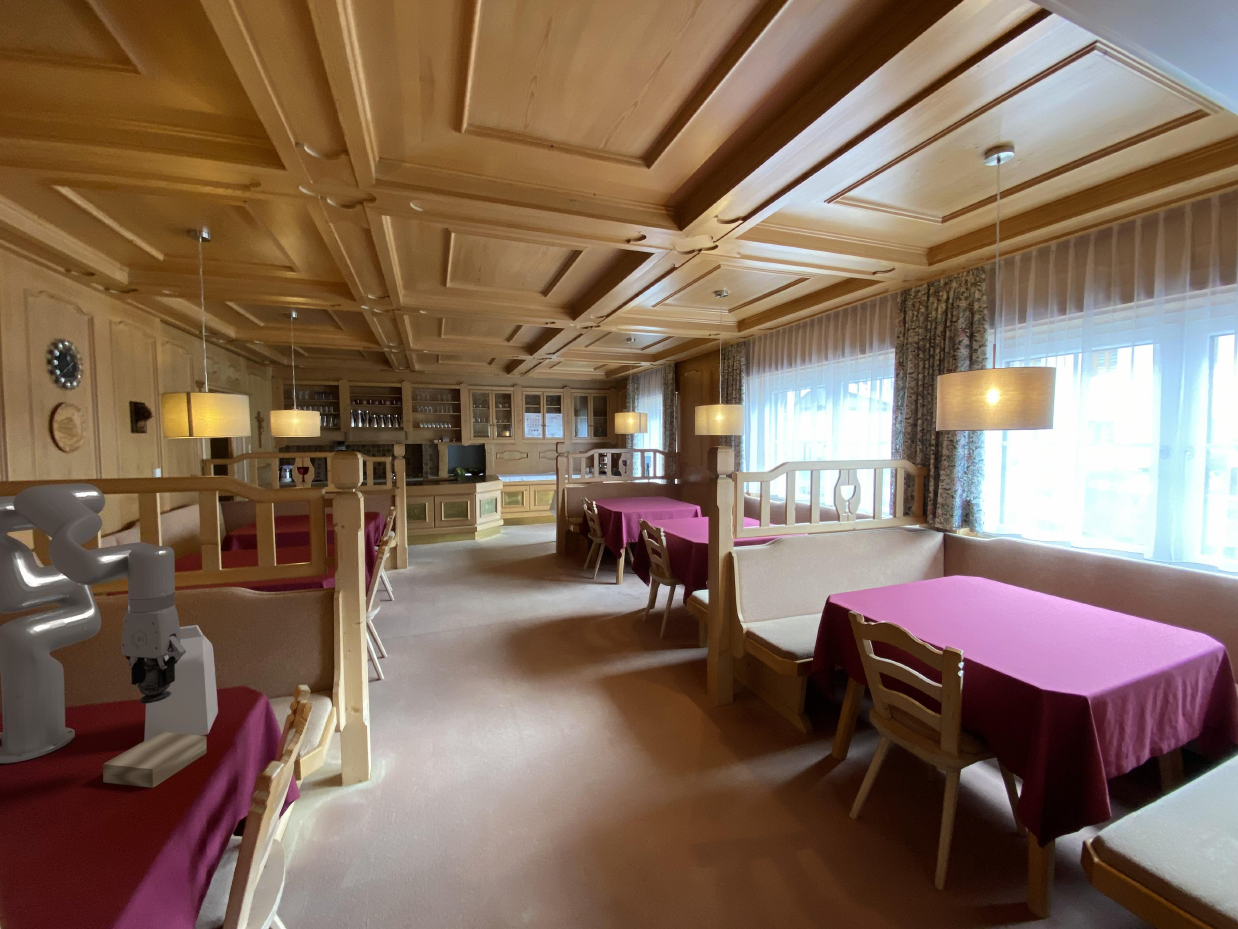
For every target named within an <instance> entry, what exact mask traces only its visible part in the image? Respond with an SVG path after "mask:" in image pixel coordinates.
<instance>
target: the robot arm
mask: <svg viewBox="0 0 1238 929" xmlns="http://www.w3.org/2000/svg"><path fill="white" fill-rule="evenodd" d="M105 506H106V498H105V495H104V494H103V492H102V490H100V488H98V487H97V486H95V485H93V484H91V483H86V482H76V483H55V484H43V485H35V486H31V487H28V488H25V489H23V490H21V491H20V492H18V493H17V495H10V496H7V495H6V496H0V614H13V613H21V612H26V611H31V610H34V609H38V608H42V607H47V606H51V605H55V604H56V606H57V608H54V609H50V610H43V611H40V612H37V613H32V614H28V615H24V616H20V617H17V618H14V619H12V620H9V621H7V622H6V623H4V624H2V625H0V685H1V687H0V688H1V689H0V690H1V706H2V708H1V709H2V711H1V713H2V715H1V716H2V731H0V740H1V745H0V764H13V763H18V762H24V761H28V760H31V759H36V758H38V757H42V756H45V755H47V754H50V753H53V752H55V751H56V750H59V749H61V748H62V747H64V746H66V745H68V744H69V743H71V741H72V740H73V739H74V738H75V736H76V733H75V732H76V731H75V729H73V728H72V727H71V728H70V727H66V706H65V705H66V703H65V700H66V699H65V672H64V671H65V669H64V666H63V664H62V663H61V662H60V661H59V660H57V658H54V657H53V656H51V654H50V653H51V652H54V651H56V650H59V649H62V648H65V647H68V646H71V645H74V644H77V643H81V642H84V641H86V640H89V639H91V638H93V637H94V636H95V635H97V634H98V633H99V631H100V630H101V627H102V616H101V612H100V609H99V606H98V604H97V601H96V599H95V598H96V597H95V595H94V593H93V590H92V586H96V585H100V584H105V583H109V582H114V581H118V580H123V579H127V591H128V592H127V595H128V596H127V598H128V602H127V603H128V606H127V607H128V610H126V611H125V615H124V618H123V624H122V628H121V629H122V632H121V633H122V634H121V646H120V648H119V649H120V651H121V653H122V655H123V656H125V658H126V660H128V666H129V667H131V668H130V669H131V670H130V673H131V685H134V686H137V685H138V684H139V683H140V682H142V681H144V680H145V678H146V669H145V668H144V666H146V665H147V664H146V658H157V660H158V662H159V665H160V668H161V669H159V670H158V687H163V686H166V685H168V684H170V683H172V682H174V681H175V664H177V661H178V660H179V659H180V658H181V657H182V656H183V655H184V654H185V653H186V650H185V649H184V647H183V646H182V645H181V644H180V627H181V626H180V620H179V615H178V611H177V607H176V580H175V579H176V577H175V576H176V575H175V572H176V570H175V569H176V568H175V551H174V549H173V548H172V547H170V546H167V545H154V544H151V543H148V542H141V541H138V542H130V543H123V544H117V545H116V544H115V545H111V546H103V547H98V548H94V549H87V548H85V547H83V546H82V545H83V544H85V543H87V542H89V541H90V540H92V539H93V538H94V537H95V536H97V534H98V533H100V531H101V530H102V527H103V519H102V517H101V516H100V515H99V513H101V512H102V511H103V510H104V508H105ZM31 530H32V531H33V530H39V531H41V532H43V533H44V534H45V535H47V537H49V538H51V539H50V542H49V545H48V554H49V559H50V561H51V564H52V565H46V566H40V565H38V563H37V562H36V558H35V555H34V553H33V551H32V549H31V548H30V546H28V545H27V544H25V543H23V542H22V541H20V540H19V539H17V538H15V537H13V536H10V535H9V533H14V532H22V531H23V532H24V531H31ZM167 655H168V657H169V658H168V660H167V661H166V660H165V658H164V656H167Z"/></svg>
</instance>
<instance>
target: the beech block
mask: <svg viewBox="0 0 1238 929" xmlns="http://www.w3.org/2000/svg"><path fill="white" fill-rule="evenodd" d="M207 749H208V748H207V735H200V736H198V735H188V734H178V733H168V732H160V733H158V734H156V735H155V736H153V737H151V738H149V739H147V740H145V741H144V740H143V742H140V743H138V744H136V745H135V746H133V747H130V749H128V750H125V751H124V752H122V753H120V754H118V755H117V756H115V757H113V758H112V759H110V760H109V759H108V761H106V762H104V763H103V764H102V769H103V770H102V773H103V776H102V778H103V780H102V781H103V783H107V784H117V785H124V786H125V785H127V786H132V787H134V786H135V787H142V788H143V787H144V788H151V789H152V788H154V787H156V786H158V785H159V784H161V783H162V782H163V783H164V781H166V780H167V779H169V778H171V777H172V776H174V775H175V774H176V773H178V772H179V771H181V770H183V769H185V767H187V766H188V765H190V764H192V763H193V762H194V761H196V760H198V759H200V758H201V757H202V756H204V755H206V754H207V752H208V750H207Z"/></svg>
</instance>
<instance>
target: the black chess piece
mask: <svg viewBox="0 0 1238 929" xmlns="http://www.w3.org/2000/svg"><path fill="white" fill-rule="evenodd" d="M145 662H146V664H147V665H146V666H144V668H145V669H146V678H145V680H144V681H142V682H140V683H138V684H136V687H137V688H138V690H139V692H140V694H142V695H144V696H142V697H141V698H139V701H138V702H139V703H140V704H146V703H153V702H157V701H161V700H163V699H166V698H168V697H169V696H170V695H171V694H172V693H171V692H170V691H166V690H167V689H168V688H169V686H170V684H171V683H170V684H168V685H166V686H163V687H158V670H159V669H161V668H160V665H159V662H158V660H157V658H146V661H145Z"/></svg>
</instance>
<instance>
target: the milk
mask: <svg viewBox="0 0 1238 929" xmlns="http://www.w3.org/2000/svg"><path fill="white" fill-rule="evenodd" d="M180 644H181V645H182V646H183V647H184V649H185V650H186V653H185V654H184V655H183V656H182V657H181V658H180V659H179V660H178V661H177V664H175V681H174V682H172V683H171V684H170V686H169V688H168V689H167V690H166V691H170V692H171V693H172V694H171V695H170V696H169V697H168V698H166V699H163V700H161V701H157V702H153V703H145V719H144V721H145V723H144V740H143V742H144V741H145V740H147V739H149V738H151V737H153V736H155V735H156V734H158V733H160V732H168V733H178V734H188V735H198V736H206V735H209V733H210V731H211V729H212V726H213V724H214V722H215V720H216V718H217V716H218V713H219V707H218V706H219V705H218V694H217V681H216V668H215V655H214V654H215V653H214V647H213V646H214V645H213V644H212V642H211V641H210V640H209V639H208V638H207V637H206V635H204V634H203V632H202V630H201V629H200V627H199V625H198V624H195V625H185V626H180ZM164 658H165V660H166V661H167V660H168V658H169V657H168V655H167V656H164Z"/></svg>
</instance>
